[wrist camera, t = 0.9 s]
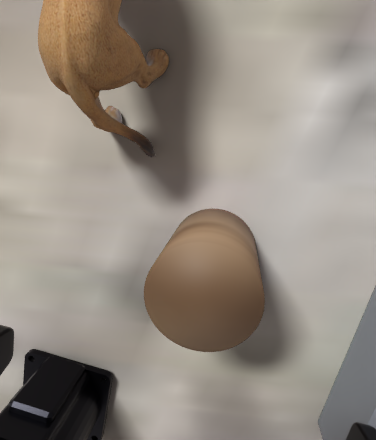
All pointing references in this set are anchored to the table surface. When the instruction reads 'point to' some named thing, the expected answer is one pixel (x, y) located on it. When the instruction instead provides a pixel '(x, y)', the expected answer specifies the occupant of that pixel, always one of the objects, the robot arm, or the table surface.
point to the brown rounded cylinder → (207, 283)
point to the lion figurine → (95, 58)
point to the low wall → (354, 383)
